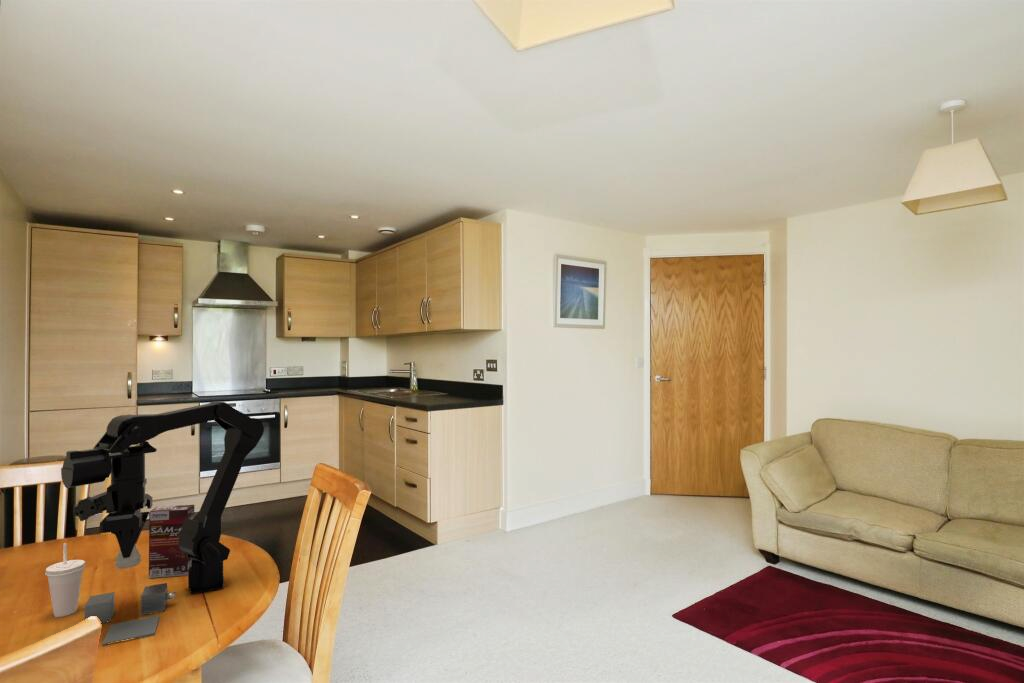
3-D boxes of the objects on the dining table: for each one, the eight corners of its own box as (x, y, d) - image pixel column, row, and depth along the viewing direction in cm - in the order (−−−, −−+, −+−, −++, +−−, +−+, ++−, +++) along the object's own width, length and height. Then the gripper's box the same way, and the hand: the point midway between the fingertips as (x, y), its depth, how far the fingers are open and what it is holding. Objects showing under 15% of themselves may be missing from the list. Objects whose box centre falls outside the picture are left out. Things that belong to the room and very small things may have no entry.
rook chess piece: (146, 560, 113) (146, 521, 113) (131, 568, 109) (131, 528, 109) (124, 560, 113) (124, 522, 113) (109, 569, 109) (109, 529, 109)
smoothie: (80, 602, 117) (80, 536, 117) (89, 611, 113) (89, 542, 113) (41, 614, 112) (42, 545, 112) (49, 623, 108) (49, 551, 108)
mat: (159, 617, 109) (159, 615, 110) (154, 635, 102) (154, 632, 102) (110, 626, 106) (110, 624, 106) (102, 646, 99) (102, 643, 99)
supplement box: (147, 579, 129) (147, 511, 129) (156, 571, 133) (156, 506, 134) (187, 575, 130) (187, 509, 131) (195, 568, 135) (195, 503, 135)
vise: (176, 600, 117) (176, 581, 117) (173, 609, 113) (173, 589, 113) (90, 616, 110) (90, 596, 111) (84, 626, 106) (84, 606, 106)
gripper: (90, 473, 116) (90, 547, 116) (65, 492, 99) (65, 579, 99) (152, 467, 121) (152, 538, 121) (138, 485, 104) (138, 567, 104)
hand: (128, 554), depth 111 cm, fingers closed on rook chess piece, 3 cm apart
